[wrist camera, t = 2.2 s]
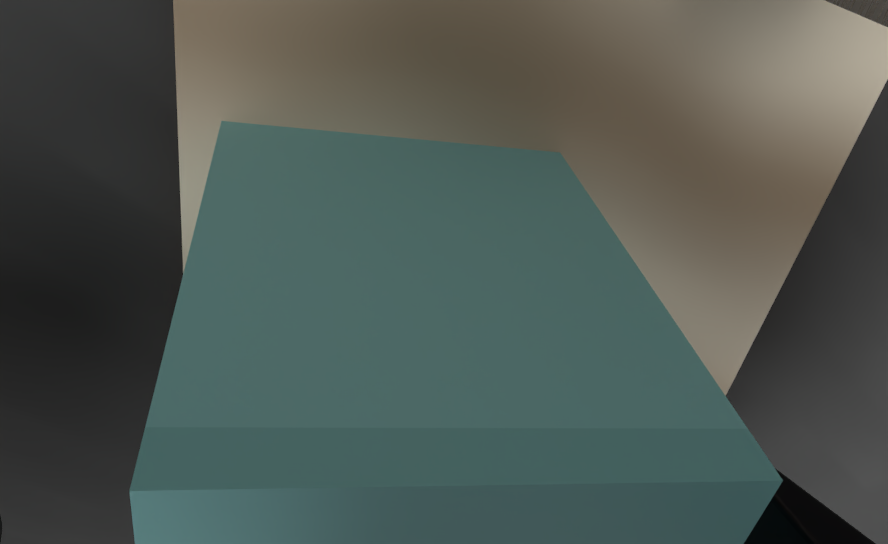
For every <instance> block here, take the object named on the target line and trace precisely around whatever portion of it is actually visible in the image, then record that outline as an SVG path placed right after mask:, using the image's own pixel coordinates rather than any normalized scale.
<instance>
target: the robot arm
mask: <svg viewBox="0 0 888 544" xmlns="http://www.w3.org/2000/svg"><path fill="white" fill-rule="evenodd" d="M775 470H776V471H777V472H778V474H779V475H780V477H781V478H782V480H783V481H782V483H781V485H780V486H779V488H778V489H777V491H776V493H775V494H774V496H773V497H772V499H771V501H770V502H769V504H768V505H767V507H766V509H765V510H764V512H763V514H762V515H761V517H760V518H759V520H758V522H757V523H756V525H755V526H754V528H753V530H752V531H751V533H750V534H749V536H748V538H747V539H746V541H745V542H744V544H875V543H874V542H873V541H871V540H870V539H869V538H867V537H866V536H865V535H863V534H862V533H861V532H859V531H858V530H857V529H855V528H854V527H853V526H851V525H850V524H849V523H847V522H846V521H845V520H843V519H842V518H841V517H839V516H838V515H837V514H835V513H834V512H833V511H831V510H830V509H829V508H827V507H826V506H825V505H823V504H822V503H821V502H819V501H818V500H817V499H815V498H814V497H813V496H811V495H810V494H809V493H807V492H806V491H805V490H803V489H802V488H801V487H799V486H798V485H797V484H795V483H794V482H793V481H791V480H790V479H789V478H787V477H786V476H785V475H783V474H782V473H781V472H779V471H778V470H777V469H775ZM1 535H2V521H1V516H0V542H1Z"/></svg>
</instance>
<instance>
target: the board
mask: <svg viewBox="0 0 888 544" xmlns="http://www.w3.org/2000/svg"><path fill="white" fill-rule="evenodd" d="M173 9H174V37H175V64H176V92H177V119H178V147H179V174H180V202H181V229H182V257H183V273H184V269H185V265H186V261H187V257H188V253H189V249H190V245H191V241H192V237H193V233H194V229H195V225H196V221H197V217H198V213H199V209H200V205H201V201H202V197H203V193H204V189H205V185H206V181H207V177H208V173H209V169H210V165H211V161H212V157H213V153H214V149H215V145H216V141H217V137H218V133H219V129H220V125H221V121H228V122H239V123H250V124H260V125H271V126H282V127H293V128H303V129H314V130H325V131H335V132H346V133H357V134H368V135H378V136H389V137H400V138H410V139H421V140H432V141H443V142H453V143H464V144H475V145H486V146H496V147H507V148H518V149H528V150H539V151H550V152H560V153H561V155H562V156H563V158H564V159H565V160H566V162H567V163H568V165H569V166H570V168H571V169H572V171H573V172H574V174H575V175H576V177H577V178H578V180H579V181H580V183H581V184H582V185H583V187H584V188H585V190H586V191H587V193H588V194H589V196H590V197H591V199H592V200H593V202H594V203H595V205H596V206H597V208H598V209H599V211H600V212H601V213H602V215H603V216H604V218H605V219H606V221H607V222H608V224H609V225H610V227H611V228H612V230H613V231H614V233H615V234H616V236H617V237H618V238H619V240H620V241H621V243H622V244H623V246H624V247H625V249H626V250H627V252H628V253H629V255H630V256H631V258H632V259H633V261H634V262H635V263H636V265H637V266H638V268H639V269H640V271H641V272H642V274H643V275H644V277H645V278H646V280H647V281H648V283H649V284H650V286H651V287H652V289H653V290H654V291H655V293H656V294H657V296H658V297H659V299H660V300H661V302H662V303H663V305H664V306H665V308H666V309H667V311H668V312H669V314H670V315H671V316H672V318H673V319H674V321H675V322H676V324H677V325H678V327H679V328H680V330H681V331H682V333H683V334H684V336H685V337H686V339H687V340H688V342H689V343H690V344H691V346H692V347H693V349H694V350H695V352H696V353H697V355H698V356H699V358H700V359H701V361H702V362H703V364H704V365H705V367H706V368H707V369H708V371H709V372H710V374H711V375H712V377H713V378H714V380H715V381H716V383H717V384H718V386H719V387H720V389H721V390H722V392H723V393H724V394H725V396H726V394H727V392H728V390H729V388H730V386H731V384H732V383H733V381H734V379H735V377H736V375H737V373H738V371H739V369H740V367H741V365H742V363H743V361H744V359H745V357H746V355H747V353H748V351H749V349H750V347H751V345H752V343H753V341H754V340H755V338H756V336H757V334H758V332H759V330H760V328H761V326H762V324H763V322H764V320H765V318H766V316H767V314H768V312H769V310H770V308H771V306H772V304H773V302H774V300H775V298H776V297H777V295H778V293H779V291H780V289H781V287H782V285H783V283H784V281H785V279H786V277H787V275H788V273H789V271H790V269H791V267H792V265H793V263H794V261H795V259H796V257H797V255H798V253H799V252H800V250H801V248H802V246H803V244H804V242H805V240H806V238H807V236H808V234H809V232H810V230H811V228H812V226H813V224H814V222H815V220H816V218H817V216H818V214H819V212H820V210H821V209H822V207H823V205H824V203H825V201H826V199H827V197H828V195H829V193H830V191H831V189H832V187H833V185H834V183H835V181H836V179H837V177H838V175H839V173H840V171H841V169H842V167H843V166H844V164H845V162H846V160H847V158H848V156H849V154H850V152H851V150H852V148H853V146H854V144H855V142H856V140H857V138H858V136H859V134H860V132H861V130H862V128H863V126H864V124H865V122H866V121H867V119H868V117H869V115H870V113H871V111H872V109H873V107H874V105H875V103H876V101H877V99H878V97H879V95H880V93H881V91H882V89H883V87H884V85H885V83H886V81H887V79H888V27H886V26H883V25H881V24H879V23H876V22H874V21H872V20H869V19H867V18H865V17H862V16H860V15H858V14H855V13H853V12H851V11H848V10H846V9H844V8H841V7H839V6H837V5H834V4H832V3H830V2H827V1H825V0H173Z"/></svg>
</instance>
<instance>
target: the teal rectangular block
mask: <svg viewBox="0 0 888 544" xmlns="http://www.w3.org/2000/svg"><path fill="white" fill-rule="evenodd" d="M782 481H783V480H782V478H781V477H780V475H779V474H778V472H777V471H776V470H775V468H774V467H773V465H772V464H771V462H770V461H769V459H768V458H767V456H766V455H765V453H764V452H763V450H762V449H761V447H760V446H759V445H758V443H757V442H756V440H755V439H754V437H753V436H752V434H751V433H750V431H749V430H748V428H747V427H746V425H745V424H744V422H743V421H742V420H741V418H740V417H739V415H738V414H737V412H736V411H735V409H734V408H733V406H732V405H731V403H730V402H729V400H728V399H727V397H726V396H725V394H724V393H723V392H722V390H721V389H720V387H719V386H718V384H717V383H716V381H715V380H714V378H713V377H712V375H711V374H710V372H709V371H708V369H707V368H706V367H705V365H704V364H703V362H702V361H701V359H700V358H699V356H698V355H697V353H696V352H695V350H694V349H693V347H692V346H691V344H690V343H689V342H688V340H687V339H686V337H685V336H684V334H683V333H682V331H681V330H680V328H679V327H678V325H677V324H676V322H675V321H674V319H673V318H672V316H671V315H670V314H669V312H668V311H667V309H666V308H665V306H664V305H663V303H662V302H661V300H660V299H659V297H658V296H657V294H656V293H655V291H654V290H653V289H652V287H651V286H650V284H649V283H648V281H647V280H646V278H645V277H644V275H643V274H642V272H641V271H640V269H639V268H638V266H637V265H636V263H635V262H634V261H633V259H632V258H631V256H630V255H629V253H628V252H627V250H626V249H625V247H624V246H623V244H622V243H621V241H620V240H619V238H618V237H617V236H616V234H615V233H614V231H613V230H612V228H611V227H610V225H609V224H608V222H607V221H606V219H605V218H604V216H603V215H602V213H601V212H600V211H599V209H598V208H597V206H596V205H595V203H594V202H593V200H592V199H591V197H590V196H589V194H588V193H587V191H586V190H585V188H584V187H583V185H582V184H581V183H580V181H579V180H578V178H577V177H576V175H575V174H574V172H573V171H572V169H571V168H570V166H569V165H568V163H567V162H566V160H565V159H564V158H563V156H562V155H561V153H560V152H550V151H539V150H528V149H518V148H507V147H496V146H486V145H475V144H464V143H453V142H443V141H432V140H421V139H410V138H400V137H389V136H378V135H368V134H357V133H346V132H335V131H325V130H314V129H303V128H293V127H282V126H271V125H260V124H250V123H239V122H228V121H221V125H220V129H219V133H218V137H217V141H216V145H215V149H214V153H213V157H212V161H211V165H210V169H209V173H208V177H207V181H206V185H205V189H204V193H203V197H202V201H201V205H200V209H199V213H198V217H197V221H196V225H195V229H194V233H193V237H192V241H191V245H190V249H189V253H188V257H187V261H186V265H185V269H184V273H183V277H182V281H181V285H180V289H179V293H178V297H177V301H176V305H175V309H174V314H173V318H172V322H171V326H170V330H169V334H168V338H167V342H166V346H165V350H164V354H163V358H162V362H161V366H160V370H159V374H158V378H157V382H156V386H155V390H154V394H153V398H152V402H151V406H150V410H149V414H148V418H147V422H146V426H145V430H144V434H143V438H142V442H141V446H140V450H139V454H138V458H137V462H136V466H135V470H134V474H133V478H132V482H131V486H130V490H129V492H130V502H131V511H132V521H133V530H134V539H135V544H744V542H745V541H746V539H747V538H748V536H749V534H750V533H751V531H752V530H753V528H754V526H755V525H756V523H757V522H758V520H759V518H760V517H761V515H762V514H763V512H764V510H765V509H766V507H767V505H768V504H769V502H770V501H771V499H772V497H773V496H774V494H775V493H776V491H777V489H778V488H779V486H780V485H781V483H782Z"/></svg>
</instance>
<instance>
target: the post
mask: <svg viewBox="0 0 888 544" xmlns="http://www.w3.org/2000/svg"><path fill="white" fill-rule="evenodd" d="M825 1H827V2H830V3H832V4H834V5H837V6H839V7H841V8H844V9H846V10H848V11H851V12H853V13H855V14H858V15H860V16H862V17H865V18H867V19H869V20H872V21H874V22H876V23H879V24H881V25H883V26H886V27H888V0H825Z"/></svg>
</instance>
